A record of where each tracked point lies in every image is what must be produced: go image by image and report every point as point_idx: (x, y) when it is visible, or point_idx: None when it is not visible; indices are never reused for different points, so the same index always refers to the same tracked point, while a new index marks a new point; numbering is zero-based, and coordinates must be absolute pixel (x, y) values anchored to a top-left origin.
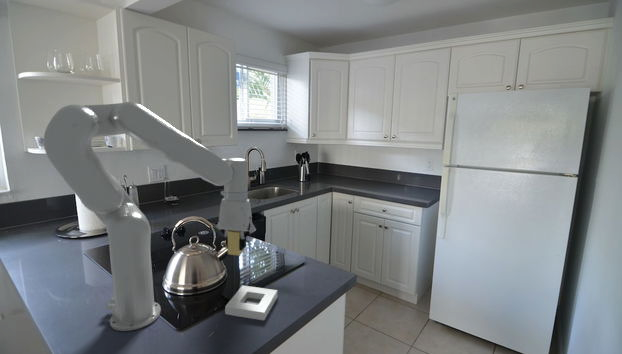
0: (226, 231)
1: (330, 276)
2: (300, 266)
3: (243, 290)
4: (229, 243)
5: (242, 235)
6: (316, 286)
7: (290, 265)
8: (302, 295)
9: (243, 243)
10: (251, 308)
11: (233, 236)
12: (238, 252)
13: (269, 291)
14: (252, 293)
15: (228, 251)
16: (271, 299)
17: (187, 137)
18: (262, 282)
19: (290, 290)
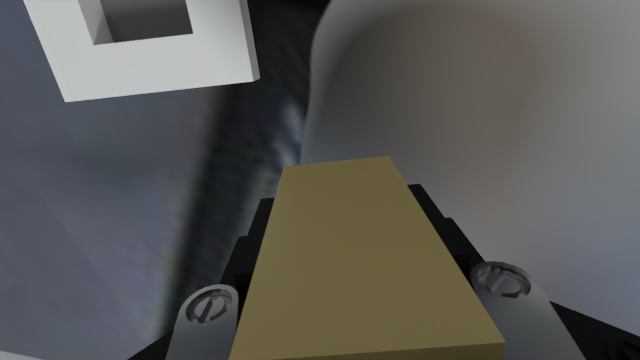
0: (538, 347)
1: (16, 308)
2: (162, 334)
3: (218, 35)
4: (395, 206)
5: (198, 336)
6: (13, 231)
7: None
8: (14, 153)
9: (237, 259)
10: None
11: (351, 280)
12: (284, 177)
13: (92, 77)
14: (167, 37)
15: (387, 165)
16: (27, 5)
17: None
18: (229, 186)
19: (84, 170)
